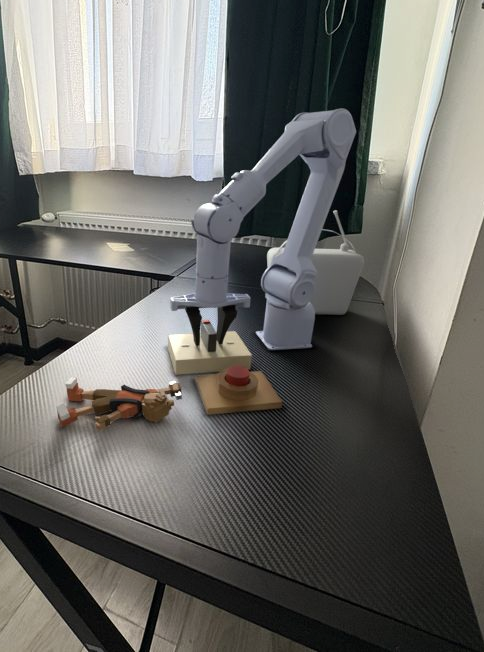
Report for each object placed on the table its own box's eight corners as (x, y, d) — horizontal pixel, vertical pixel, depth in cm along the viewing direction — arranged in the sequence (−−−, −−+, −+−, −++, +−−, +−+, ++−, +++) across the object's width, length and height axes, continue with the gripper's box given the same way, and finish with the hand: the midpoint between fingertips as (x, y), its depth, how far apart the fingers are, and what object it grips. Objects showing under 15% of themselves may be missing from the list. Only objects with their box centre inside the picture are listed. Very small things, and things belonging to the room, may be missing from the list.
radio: (342, 304, 100) (361, 209, 91) (354, 317, 93) (376, 214, 83) (259, 301, 101) (270, 206, 92) (265, 314, 93) (277, 211, 84)
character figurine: (79, 365, 63) (184, 368, 59) (84, 390, 65) (187, 394, 61) (41, 410, 52) (167, 417, 48) (48, 439, 54) (171, 447, 50)
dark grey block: (216, 351, 69) (217, 332, 67) (207, 352, 69) (208, 333, 67) (208, 336, 74) (209, 319, 73) (200, 337, 74) (201, 319, 73)
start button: (244, 374, 63) (245, 365, 62) (251, 386, 60) (252, 377, 59) (223, 375, 62) (224, 366, 62) (229, 388, 59) (230, 378, 58)
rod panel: (234, 343, 78) (235, 329, 77) (250, 369, 69) (252, 354, 68) (167, 347, 76) (167, 333, 75) (175, 375, 67) (175, 359, 66)
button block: (260, 376, 67) (262, 361, 66) (281, 408, 59) (284, 392, 58) (194, 381, 65) (195, 366, 64) (206, 415, 57) (208, 398, 56)
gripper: (244, 266, 71) (238, 331, 76) (168, 268, 69) (167, 335, 74) (257, 278, 65) (250, 347, 70) (174, 280, 62) (172, 352, 67)
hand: (208, 342), depth 71 cm, fingers open, 4 cm apart
